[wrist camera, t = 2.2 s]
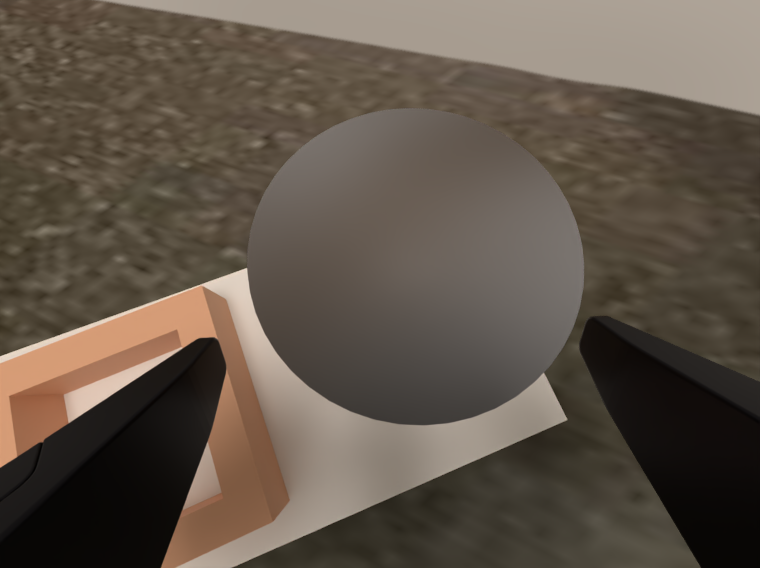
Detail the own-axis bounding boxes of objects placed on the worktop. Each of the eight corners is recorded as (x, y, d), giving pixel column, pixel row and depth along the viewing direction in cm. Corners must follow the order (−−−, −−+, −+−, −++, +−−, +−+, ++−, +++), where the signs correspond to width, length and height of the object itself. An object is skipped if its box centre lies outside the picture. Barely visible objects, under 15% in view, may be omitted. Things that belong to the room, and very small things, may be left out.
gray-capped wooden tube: (465, 330, 17) (642, 214, 6) (403, 421, 16) (465, 512, 4) (380, 271, 18) (379, 60, 6) (316, 353, 17) (176, 280, 5)
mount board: (450, 204, 20) (454, 193, 19) (554, 417, 17) (567, 419, 16) (23, 359, 18) (-2, 357, 17) (55, 636, 15) (28, 657, 14)
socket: (289, 500, 15) (272, 521, 13) (62, 606, 14) (-3, 650, 12) (226, 299, 18) (201, 285, 15) (27, 377, 17) (-33, 376, 14)
